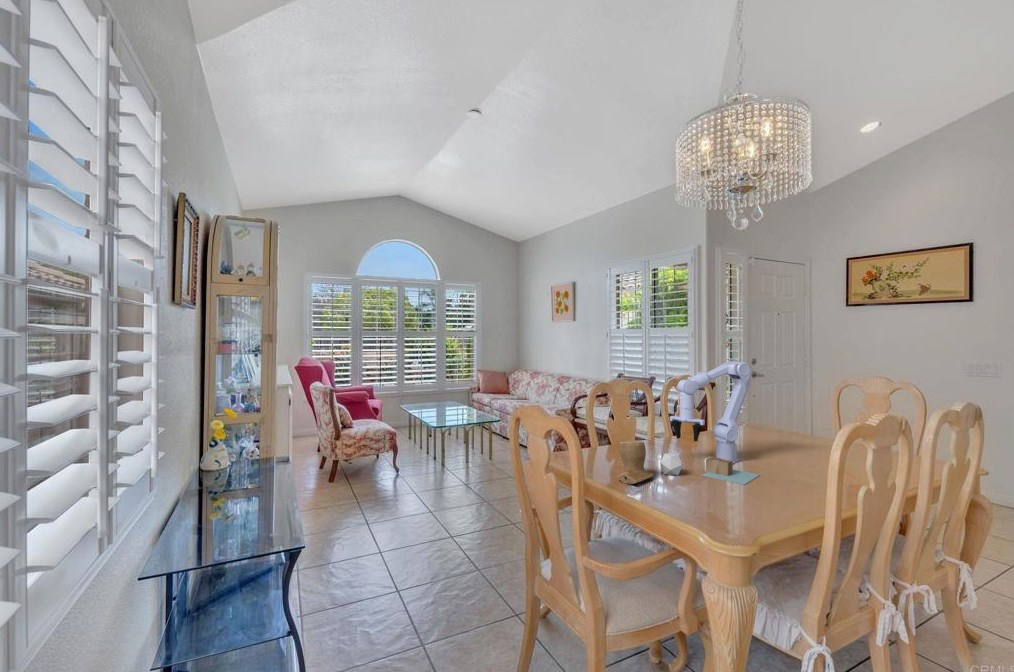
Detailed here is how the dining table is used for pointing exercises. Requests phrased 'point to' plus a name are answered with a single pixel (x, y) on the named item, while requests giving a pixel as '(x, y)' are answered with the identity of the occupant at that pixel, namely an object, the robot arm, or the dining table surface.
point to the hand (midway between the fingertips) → (687, 439)
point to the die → (671, 464)
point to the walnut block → (719, 466)
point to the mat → (734, 477)
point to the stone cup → (633, 462)
